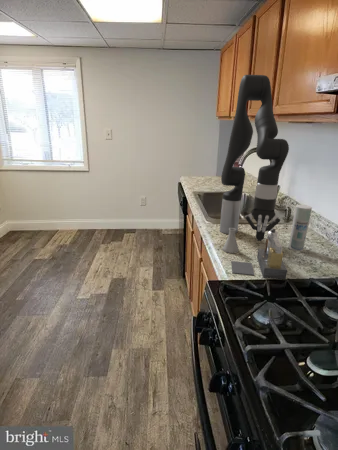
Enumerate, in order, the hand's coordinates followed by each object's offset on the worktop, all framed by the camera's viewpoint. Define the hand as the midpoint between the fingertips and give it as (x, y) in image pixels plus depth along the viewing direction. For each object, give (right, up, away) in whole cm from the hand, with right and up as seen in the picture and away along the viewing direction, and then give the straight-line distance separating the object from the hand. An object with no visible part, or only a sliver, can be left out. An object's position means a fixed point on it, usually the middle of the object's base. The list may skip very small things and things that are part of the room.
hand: (259, 240), depth 114 cm
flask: (-7, -6, +19) cm, 21 cm away
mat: (-6, -11, +3) cm, 13 cm away
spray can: (+24, -5, +24) cm, 34 cm away
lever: (+6, -2, 0) cm, 6 cm away
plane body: (+6, -11, +4) cm, 13 cm away
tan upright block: (+5, -9, -2) cm, 10 cm away
